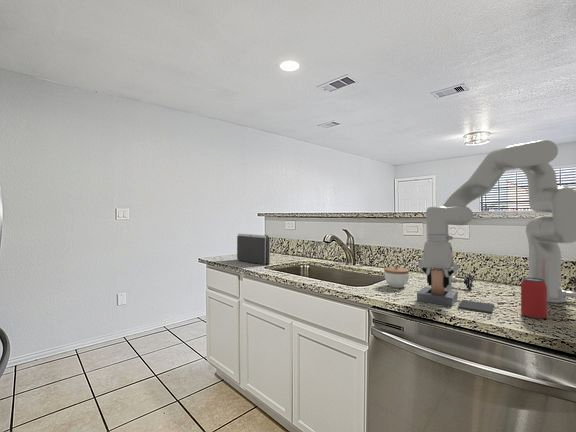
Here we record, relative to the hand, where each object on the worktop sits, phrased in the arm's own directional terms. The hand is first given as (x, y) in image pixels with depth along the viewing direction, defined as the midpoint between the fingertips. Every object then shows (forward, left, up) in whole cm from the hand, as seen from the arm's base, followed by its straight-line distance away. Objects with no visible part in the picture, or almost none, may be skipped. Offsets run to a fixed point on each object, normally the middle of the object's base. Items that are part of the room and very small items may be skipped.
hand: (437, 285), depth 119 cm
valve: (-2, -26, -6) cm, 27 cm away
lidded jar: (+20, -13, -6) cm, 24 cm away
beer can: (-29, +2, -6) cm, 29 cm away
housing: (0, 0, -6) cm, 6 cm away
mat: (-13, +2, -6) cm, 14 cm away
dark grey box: (+120, -32, -6) cm, 125 cm away
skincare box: (+1, -16, -6) cm, 17 cm away
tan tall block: (0, 0, -4) cm, 4 cm away
